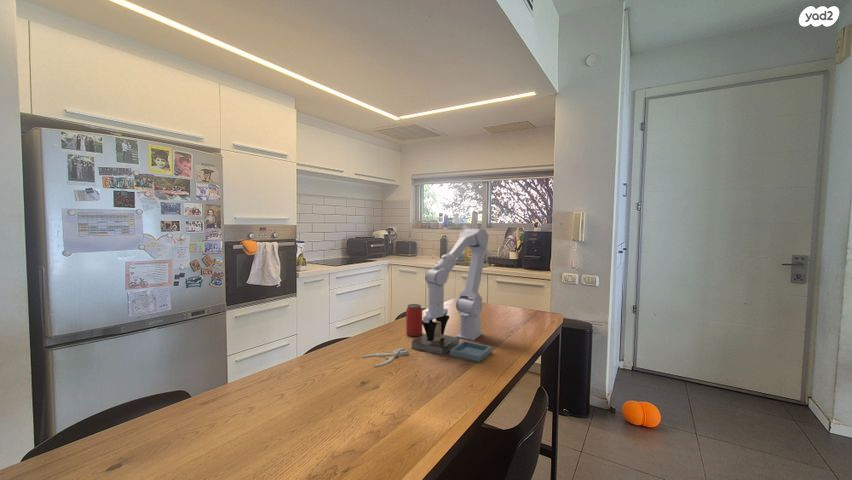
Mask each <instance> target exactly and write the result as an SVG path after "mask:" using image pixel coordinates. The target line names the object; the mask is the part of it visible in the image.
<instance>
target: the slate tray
mask: <svg viewBox="0 0 852 480" xmlns="http://www.w3.org/2000/svg"><path fill="white" fill-rule="evenodd" d="M492 350H493V347H492V346H491V345H487V344H483V343H482V344H481V343H477V342H473V341H472V342H471V341H468V340H463V341H461V342H459V344H458V345H457V346H455V347H453V348H452V349H450V351H449V356H450V357H453V358H457V359H461V360H465V361H469V362H473V363H479V364H480V363H481V362H483V361H484V360H485V359H486V358H488V356H489V355H491V354H492Z"/></svg>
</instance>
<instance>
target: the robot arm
mask: <svg viewBox="0 0 852 480" xmlns="http://www.w3.org/2000/svg"><path fill="white" fill-rule="evenodd" d="M458 237H459V238H458V239H457V241H456V243H455V244H454V245H453V247H452V248H451V250H450V252H449V253H444V254H442V256H441V257H440V259H439V261H437V263H436V264H435V265H434V266H433V268H431V269H429V270H428V271H427V272H426V274H425V276H424V279H425V282H426V283H427V284H426V286H427V288H428V290H427V291H428V292H427V293H428V295H427V296H428V297H427V299H428V302H427V303H428V307H427V309H428V310H427V311H425V316H422V328H424V331H425V334H426V335H427V339H428V340H430V341H433V339H434V332H435V327H436V325H437V323H435V322H433V321H434V320H435V321H440V322H441V335H445V330H446V327H447V323H448V321H449V319H450V315H448V309H447V308H444V306H445V304H444V303H445V302H444V298H445V295H444V294H445V288H444V287H445V285H446V283H447V282H448V278H449V276H450V275H449V274H450V273H451V271H452V270H453V269H454V267H455V266H456V264H457V259H458V257H459V256H460V255H461V254H462V253H463V252H464V251H465V250H466V248H468V249H469V250H471V256H470V257H471V258H470V262H469V268H468V272H467V278H466V283H465V287H464V290H461V292H460V293H459V295H458V298H457V300H456V301H455V309H456V310H457V311H458V314H459V333H458V334H457V333H456V335H455V337H457V338H459V339H460V338H461V339H465V340H469V341H475V340H476V339H478V338H479V337H481V336H482V335H483V334H484V333H483V332H482V331H481V326H482V323H481V322H482V321H481V320H482V319H481V316H480V315H481V313H482V310H483V304H482V303H483V297H482V296H481V295H480V293H479V289H480V288H479V287H480V284H481V279H482V273H483V269H484V264H485V259H486V253H487V247H488V242H489V234H488V232H487V230H486V229H485V228H483V227H482V228H469V227H464V228H463V229H462V230H461V232H460V233H459V235H458Z"/></svg>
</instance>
